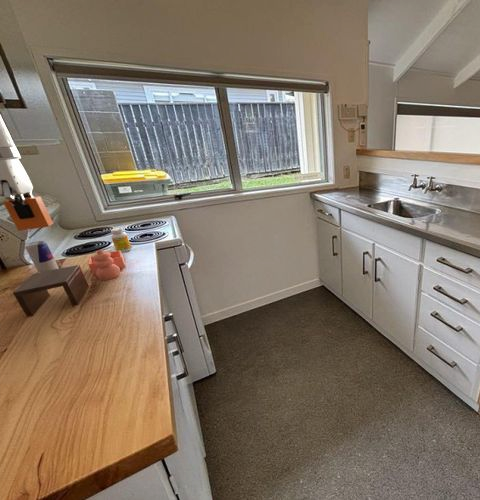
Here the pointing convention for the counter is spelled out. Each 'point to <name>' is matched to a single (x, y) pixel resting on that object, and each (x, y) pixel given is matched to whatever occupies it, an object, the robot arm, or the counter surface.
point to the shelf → (37, 284)
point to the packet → (38, 210)
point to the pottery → (106, 264)
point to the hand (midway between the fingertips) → (30, 215)
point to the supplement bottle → (120, 240)
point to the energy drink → (41, 256)
